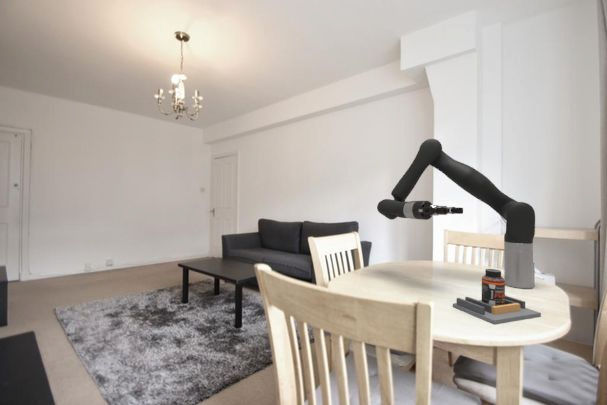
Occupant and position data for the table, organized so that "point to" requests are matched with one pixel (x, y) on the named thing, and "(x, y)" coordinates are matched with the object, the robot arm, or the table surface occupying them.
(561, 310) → the table surface
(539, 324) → the table surface
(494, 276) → the supplement bottle
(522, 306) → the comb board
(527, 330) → the table surface
